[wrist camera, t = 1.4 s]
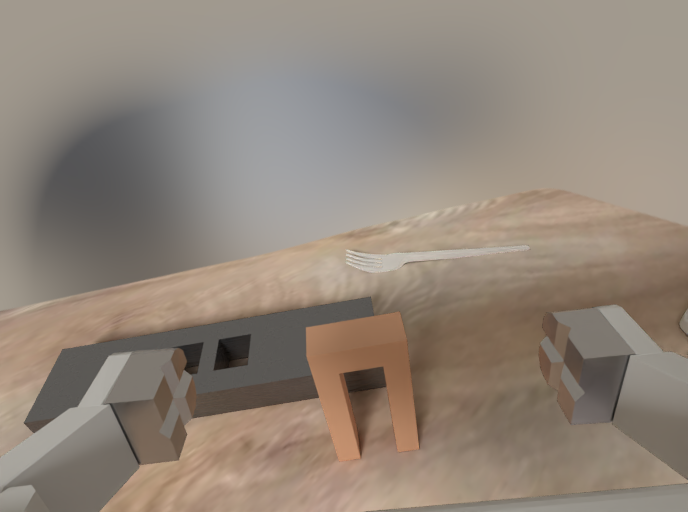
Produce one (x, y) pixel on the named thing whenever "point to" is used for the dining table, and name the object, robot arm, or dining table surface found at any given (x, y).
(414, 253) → the fork
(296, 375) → the rail
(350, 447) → the clip
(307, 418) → the dining table surface
